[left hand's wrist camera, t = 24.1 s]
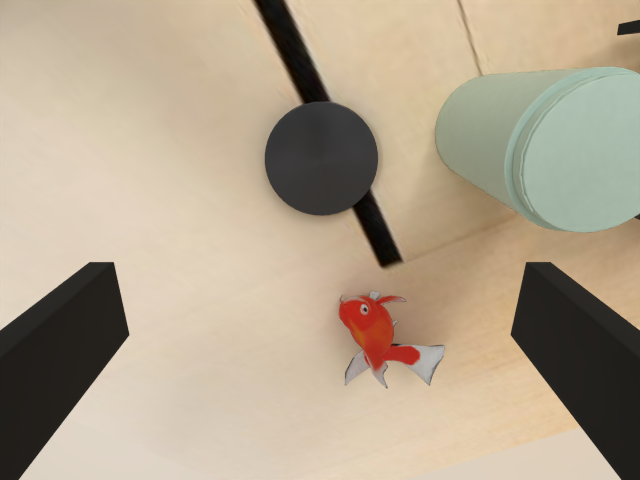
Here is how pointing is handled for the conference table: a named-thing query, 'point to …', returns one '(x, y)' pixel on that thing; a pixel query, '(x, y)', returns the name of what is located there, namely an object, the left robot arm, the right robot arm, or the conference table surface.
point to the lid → (321, 158)
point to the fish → (383, 340)
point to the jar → (549, 144)
